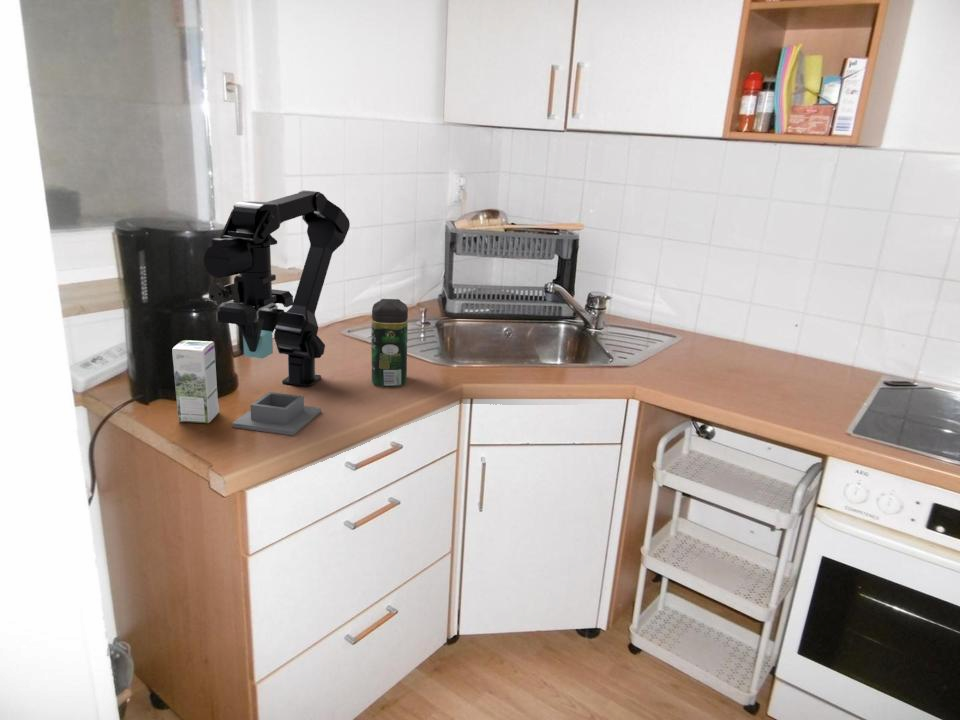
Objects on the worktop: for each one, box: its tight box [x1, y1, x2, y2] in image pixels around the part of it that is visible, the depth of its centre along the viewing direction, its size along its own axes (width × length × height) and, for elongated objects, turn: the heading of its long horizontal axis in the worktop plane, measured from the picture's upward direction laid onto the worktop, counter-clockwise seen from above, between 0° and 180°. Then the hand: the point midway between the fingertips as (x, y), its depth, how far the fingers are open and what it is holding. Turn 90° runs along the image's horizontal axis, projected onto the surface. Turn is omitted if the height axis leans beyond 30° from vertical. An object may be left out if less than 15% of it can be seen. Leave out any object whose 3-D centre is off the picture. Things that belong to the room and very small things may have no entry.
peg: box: [242, 330, 274, 359], centre depth 133 cm, size 4×4×4 cm
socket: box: [231, 391, 322, 437], centre depth 128 cm, size 12×12×4 cm
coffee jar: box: [370, 298, 409, 389], centre depth 149 cm, size 10×8×19 cm
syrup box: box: [171, 339, 220, 424], centre depth 125 cm, size 6×6×14 cm
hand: (258, 348), depth 133 cm, fingers closed on peg, 4 cm apart
